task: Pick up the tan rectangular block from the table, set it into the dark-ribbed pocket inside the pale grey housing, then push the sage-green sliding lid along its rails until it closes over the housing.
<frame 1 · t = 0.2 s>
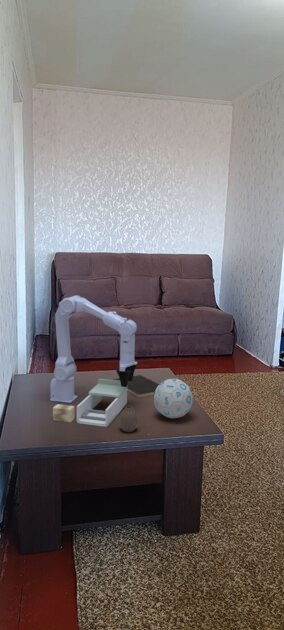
hand: (126, 383, 188), 10 cm above the table, tool pointing down, fingers open, 7 cm apart
lid: (108, 387, 188), point 8 cm above the table, slide at 13.0 cm
puzzle ball: (172, 417, 181), on the table
housing: (97, 418, 177), on the table
vase: (128, 430, 168), on the table
hardcover book: (139, 388, 215), on the table
tan rectangular block: (63, 419, 176), on the table
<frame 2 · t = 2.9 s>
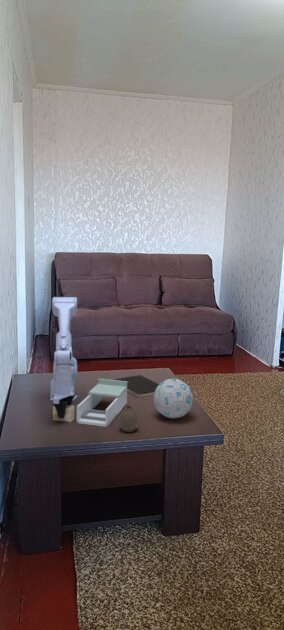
hand: (63, 415, 176), 1 cm above the table, tool pointing down, fingers closed on tan rectangular block, 4 cm apart
tan rectangular block: (63, 419, 176), on the table, touching gripper
everything else where it was.
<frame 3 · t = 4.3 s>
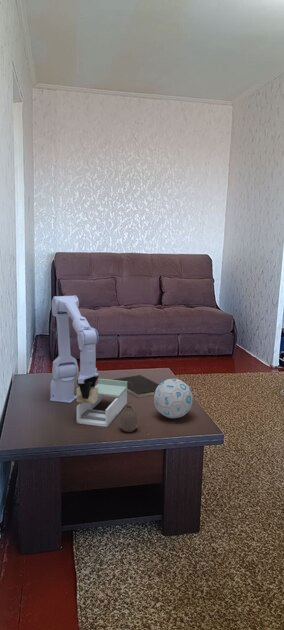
hand: (87, 396, 175), 9 cm above the table, tool pointing down, fingers closed on tan rectangular block, 4 cm apart
tan rectangular block: (87, 400, 176), point 7 cm above the table, touching gripper
everything else where it was.
when the fingers open (3 cm above the table, at t = 6.0 s): tan rectangular block stays where it is, resting on housing.
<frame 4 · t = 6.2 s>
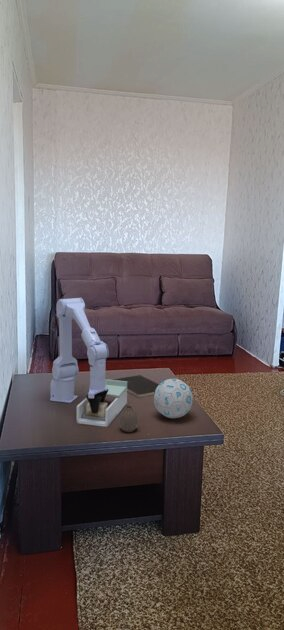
hand: (97, 410, 176), 3 cm above the table, tool pointing down, fingers open, 5 cm apart
tan rectangular block: (96, 416, 177), point 1 cm above the table, touching housing
everything else where it was.
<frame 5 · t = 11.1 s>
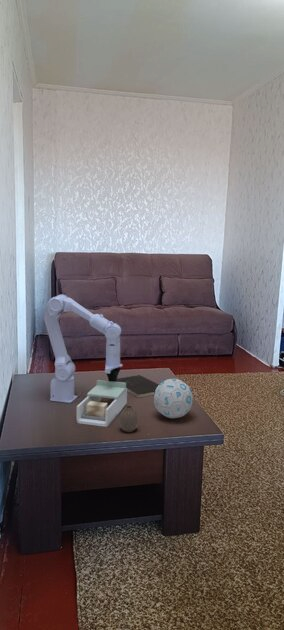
hand: (112, 385, 193), 7 cm above the table, tool pointing down, fingers closed
lid: (107, 389, 186), point 8 cm above the table, slide at 11.2 cm, touching gripper
everything else where it was.
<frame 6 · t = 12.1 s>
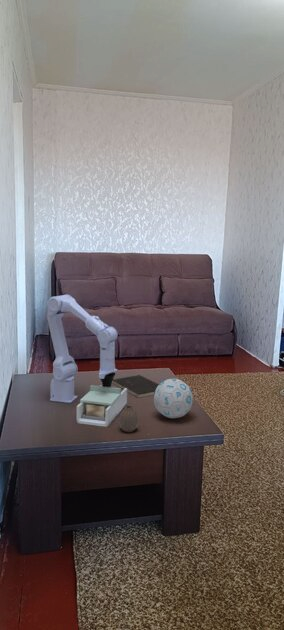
hand: (107, 390, 186), 7 cm above the table, tool pointing down, fingers closed
lid: (101, 394, 179), point 8 cm above the table, slide at 3.9 cm, touching gripper
everything else where it was.
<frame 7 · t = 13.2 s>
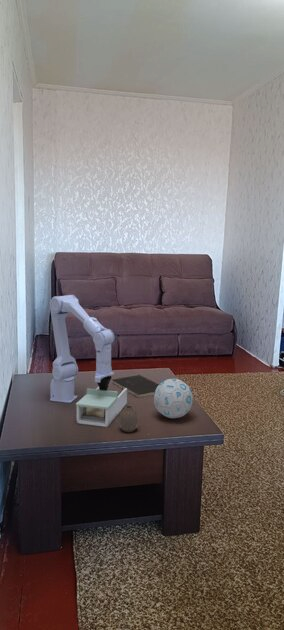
hand: (103, 394, 182), 7 cm above the table, tool pointing down, fingers closed
lid: (97, 398, 175), point 8 cm above the table, slide at -0.2 cm, touching gripper
everything else where it was.
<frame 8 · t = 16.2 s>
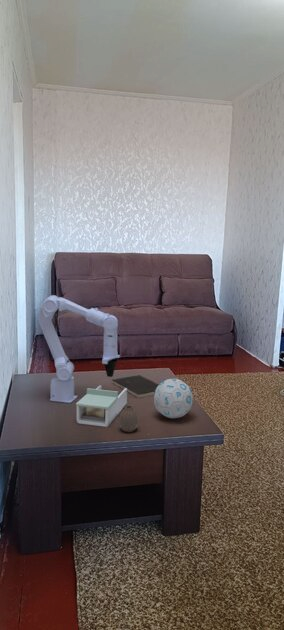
hand: (110, 376, 196), 10 cm above the table, tool pointing down, fingers closed
lid: (97, 398, 176), point 8 cm above the table, slide at 0.0 cm
everything else where it was.
at the end: tan rectangular block 0.2 cm off-centre on the housing, point 1.0 cm above the housing's base; tan rectangular block tilted 0°; lid slide at 0.0 cm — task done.
